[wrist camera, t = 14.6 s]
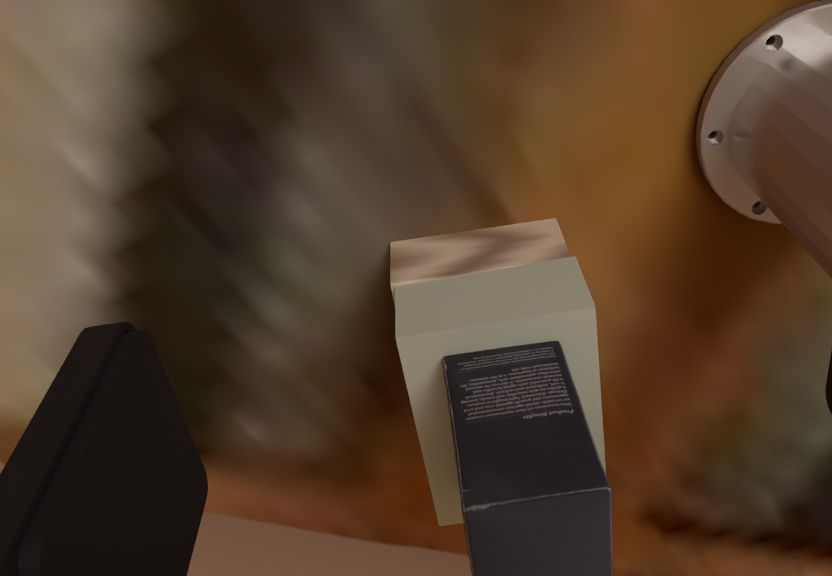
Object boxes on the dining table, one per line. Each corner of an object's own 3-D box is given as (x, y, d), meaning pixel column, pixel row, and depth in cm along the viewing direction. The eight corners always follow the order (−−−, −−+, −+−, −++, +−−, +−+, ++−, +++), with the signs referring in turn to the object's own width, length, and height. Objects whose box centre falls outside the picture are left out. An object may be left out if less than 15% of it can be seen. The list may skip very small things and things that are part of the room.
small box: (574, 484, 45) (622, 652, 37) (462, 498, 46) (481, 669, 37) (566, 335, 40) (619, 491, 31) (438, 353, 40) (454, 513, 31)
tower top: (575, 256, 43) (595, 306, 39) (589, 443, 51) (607, 502, 46) (395, 285, 44) (395, 338, 40) (435, 465, 51) (439, 526, 47)
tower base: (554, 215, 47) (571, 257, 43) (566, 394, 55) (581, 444, 51) (390, 240, 48) (390, 283, 44) (423, 413, 55) (426, 464, 51)
